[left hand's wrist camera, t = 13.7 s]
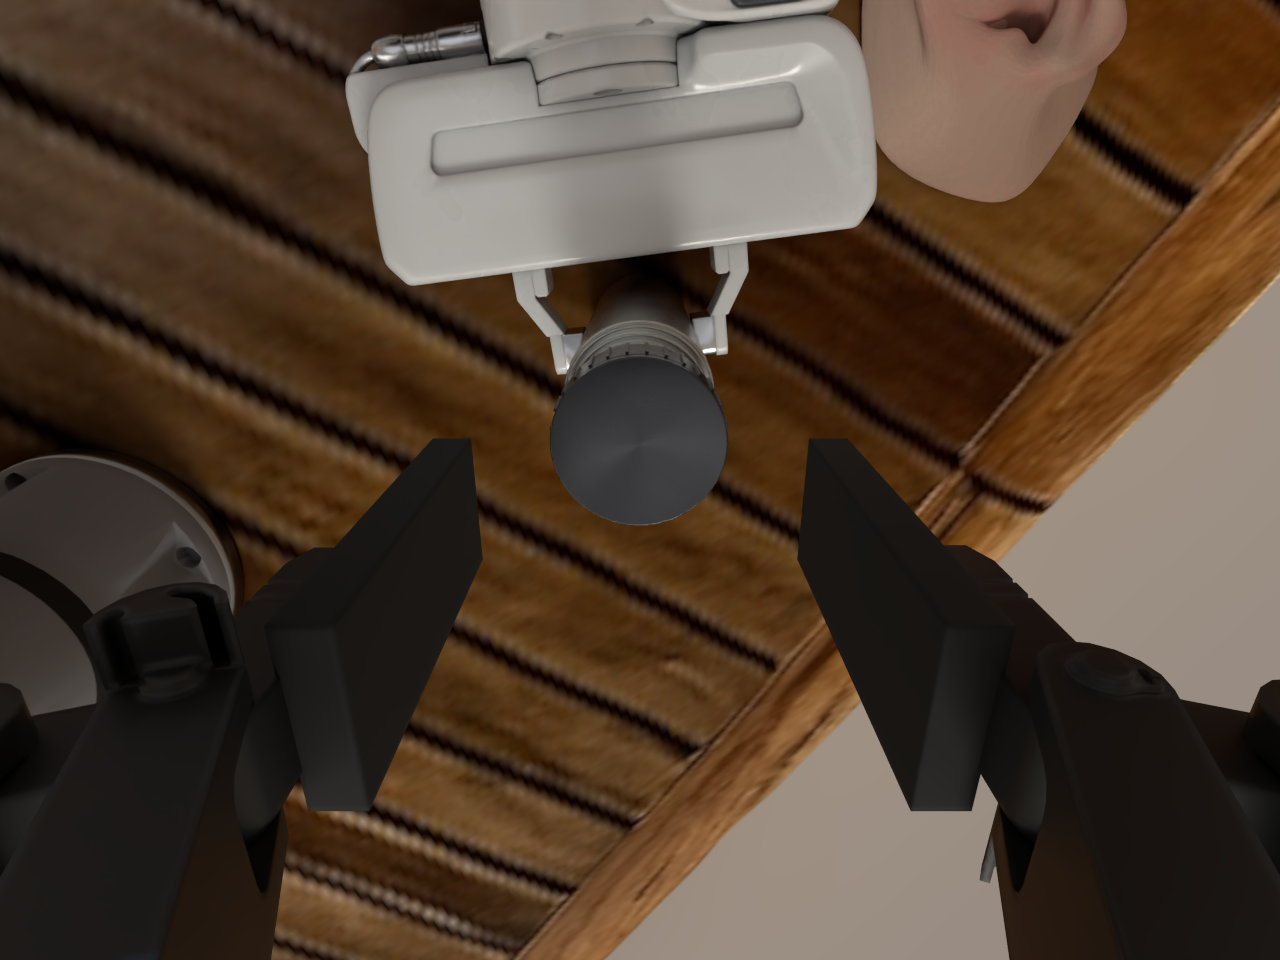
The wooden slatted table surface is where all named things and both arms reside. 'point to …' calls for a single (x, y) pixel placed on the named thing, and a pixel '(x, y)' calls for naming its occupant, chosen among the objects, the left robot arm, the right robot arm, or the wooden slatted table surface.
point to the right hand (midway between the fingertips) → (643, 362)
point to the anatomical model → (982, 85)
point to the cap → (638, 435)
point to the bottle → (639, 322)
